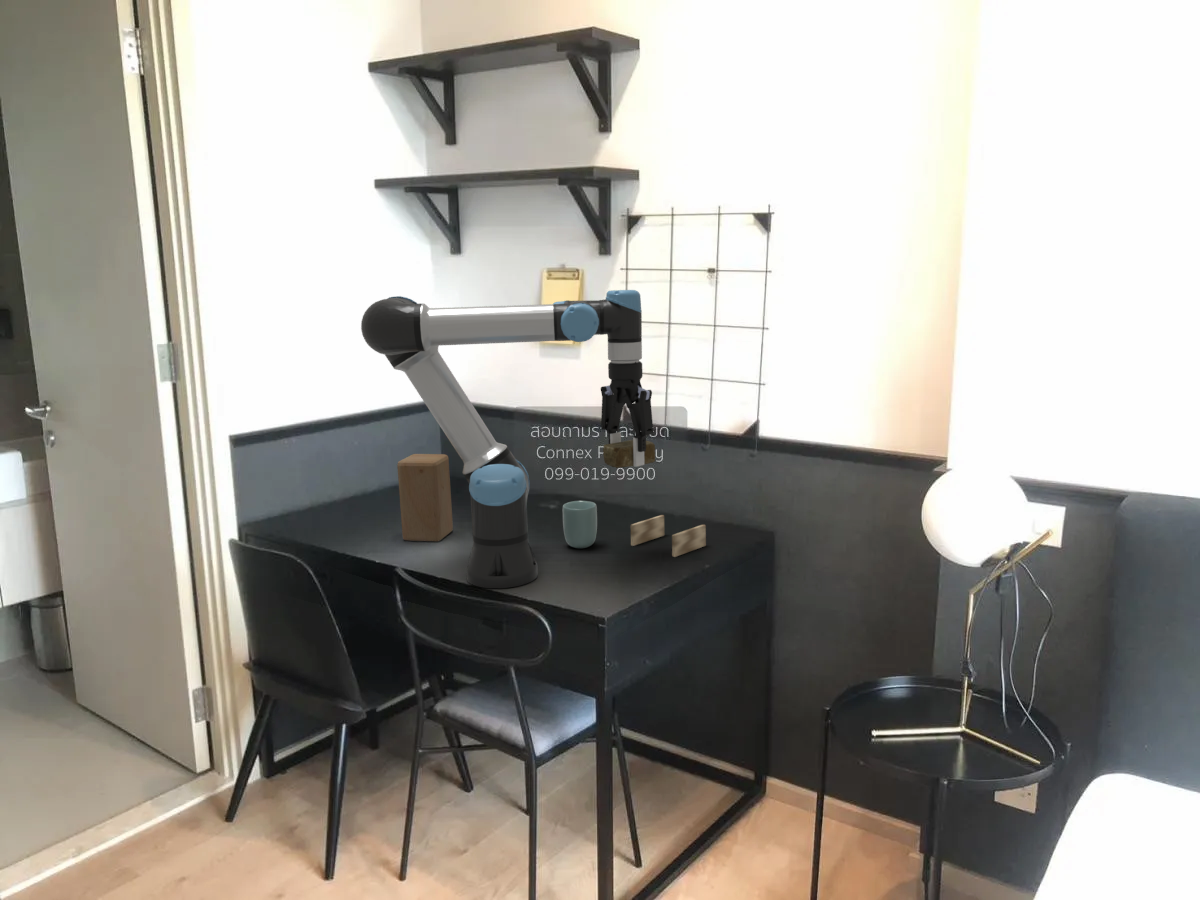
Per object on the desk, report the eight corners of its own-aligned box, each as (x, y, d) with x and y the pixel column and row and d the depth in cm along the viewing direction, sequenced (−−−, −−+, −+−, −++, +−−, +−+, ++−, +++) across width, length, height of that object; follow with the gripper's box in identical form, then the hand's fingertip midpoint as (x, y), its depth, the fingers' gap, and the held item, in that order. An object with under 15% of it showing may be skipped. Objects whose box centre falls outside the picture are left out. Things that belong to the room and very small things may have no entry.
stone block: (601, 465, 206) (601, 443, 205) (643, 459, 212) (643, 437, 211) (616, 469, 201) (615, 447, 200) (658, 463, 208) (658, 441, 207)
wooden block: (439, 542, 222) (434, 462, 218) (401, 541, 224) (395, 461, 220) (454, 531, 232) (449, 453, 228) (417, 529, 234) (411, 452, 230)
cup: (579, 539, 222) (577, 499, 220) (604, 544, 217) (602, 503, 215) (557, 547, 216) (555, 506, 214) (582, 553, 211) (581, 511, 209)
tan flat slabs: (674, 557, 206) (674, 535, 205) (630, 545, 216) (630, 524, 215) (705, 545, 214) (705, 525, 213) (662, 534, 223) (661, 514, 222)
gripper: (669, 362, 198) (671, 466, 202) (606, 357, 211) (608, 455, 216) (646, 365, 192) (647, 472, 197) (582, 360, 206) (585, 460, 211)
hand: (627, 463), depth 206 cm, fingers closed on stone block, 6 cm apart
